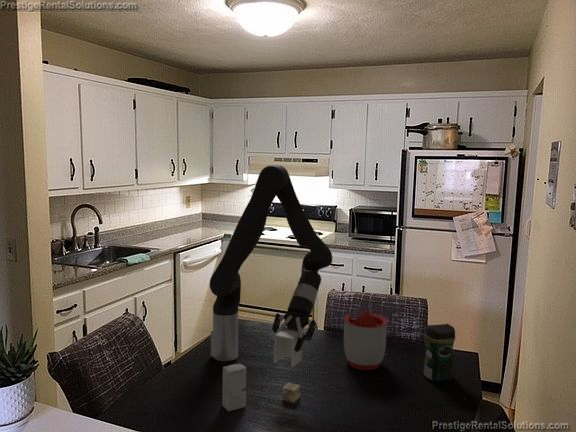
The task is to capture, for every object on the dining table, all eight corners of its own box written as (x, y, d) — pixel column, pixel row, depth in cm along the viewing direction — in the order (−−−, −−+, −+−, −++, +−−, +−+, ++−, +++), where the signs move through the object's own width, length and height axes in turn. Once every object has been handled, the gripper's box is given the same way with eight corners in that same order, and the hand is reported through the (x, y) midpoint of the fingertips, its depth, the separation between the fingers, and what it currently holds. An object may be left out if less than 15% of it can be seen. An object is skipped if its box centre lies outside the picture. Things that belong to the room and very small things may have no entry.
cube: (282, 400, 145) (282, 387, 144) (288, 394, 148) (288, 382, 148) (294, 403, 143) (294, 390, 142) (299, 397, 146) (299, 385, 146)
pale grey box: (273, 362, 144) (274, 334, 143) (283, 355, 150) (283, 328, 148) (292, 367, 141) (293, 338, 140) (301, 359, 147) (302, 331, 146)
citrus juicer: (366, 350, 183) (368, 300, 180) (394, 369, 167) (397, 314, 165) (331, 357, 176) (333, 305, 173) (357, 377, 160) (360, 320, 158)
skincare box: (228, 412, 137) (228, 372, 135) (221, 405, 141) (221, 366, 139) (247, 406, 140) (247, 367, 139) (240, 399, 144) (240, 362, 142)
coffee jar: (443, 370, 167) (447, 320, 164) (456, 381, 159) (460, 328, 157) (419, 373, 164) (422, 321, 162) (431, 383, 157) (434, 330, 154)
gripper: (279, 291, 153) (261, 338, 144) (320, 298, 146) (303, 348, 137) (286, 303, 158) (269, 349, 149) (326, 310, 152) (310, 358, 143)
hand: (285, 348), depth 143 cm, fingers closed on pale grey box, 6 cm apart
